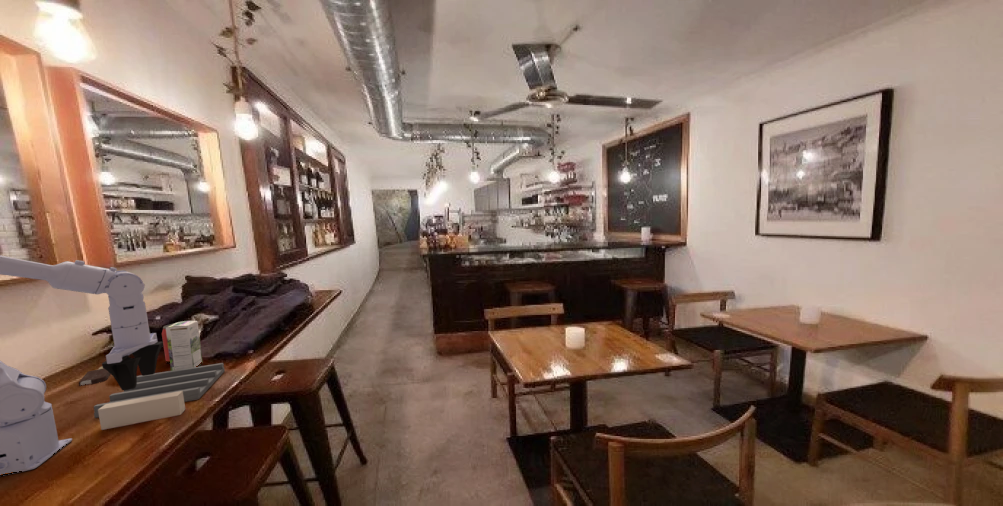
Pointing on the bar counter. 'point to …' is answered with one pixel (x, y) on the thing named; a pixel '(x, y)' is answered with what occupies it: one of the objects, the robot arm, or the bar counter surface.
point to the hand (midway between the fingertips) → (139, 381)
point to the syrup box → (184, 345)
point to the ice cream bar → (95, 376)
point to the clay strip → (141, 410)
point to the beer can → (165, 342)
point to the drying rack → (171, 384)
